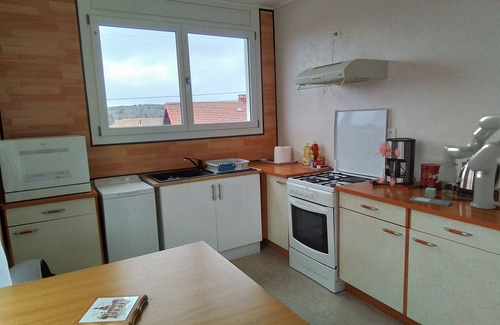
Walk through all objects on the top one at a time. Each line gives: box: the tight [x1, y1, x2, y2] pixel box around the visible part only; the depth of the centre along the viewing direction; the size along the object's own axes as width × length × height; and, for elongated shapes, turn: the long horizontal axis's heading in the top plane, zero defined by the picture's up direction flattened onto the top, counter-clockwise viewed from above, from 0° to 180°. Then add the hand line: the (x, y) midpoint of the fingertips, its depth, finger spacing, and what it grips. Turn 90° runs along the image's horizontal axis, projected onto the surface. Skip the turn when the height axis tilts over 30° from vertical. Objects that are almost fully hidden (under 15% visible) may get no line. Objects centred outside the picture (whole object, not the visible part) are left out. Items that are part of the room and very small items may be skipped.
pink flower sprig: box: [374, 141, 401, 189], centre depth 253 cm, size 15×26×35 cm, turn 22°
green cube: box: [424, 187, 437, 199], centre depth 218 cm, size 6×6×6 cm
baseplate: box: [408, 196, 452, 208], centre depth 205 cm, size 22×10×1 cm, turn 48°
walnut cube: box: [440, 189, 454, 201], centre depth 211 cm, size 6×6×6 cm
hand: (445, 189), depth 212 cm, fingers open, 9 cm apart
